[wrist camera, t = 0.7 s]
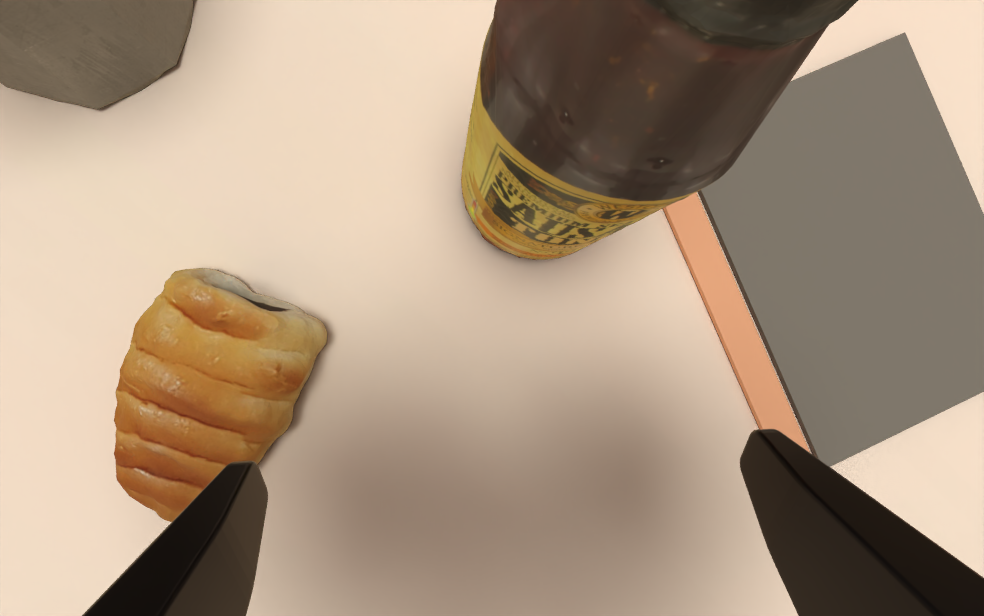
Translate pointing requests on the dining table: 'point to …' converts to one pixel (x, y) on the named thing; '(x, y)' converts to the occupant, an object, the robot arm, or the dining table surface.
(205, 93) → the dining table surface
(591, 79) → the sauce bottle
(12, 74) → the coffeepot
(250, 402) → the pastry
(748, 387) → the terracotta line
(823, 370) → the charcoal mat
